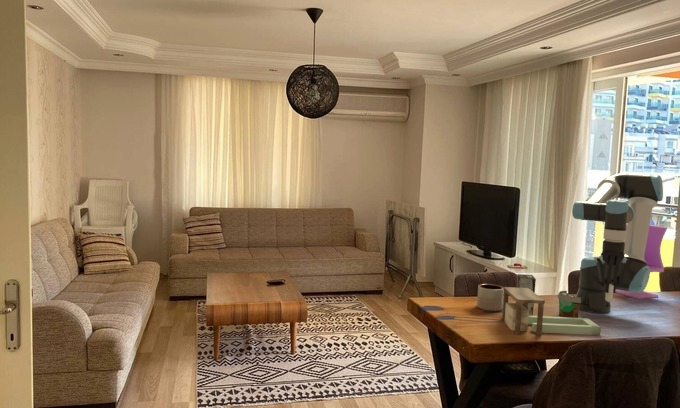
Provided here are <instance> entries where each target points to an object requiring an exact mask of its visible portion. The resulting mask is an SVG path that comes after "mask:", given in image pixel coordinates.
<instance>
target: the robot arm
mask: <svg viewBox="0 0 680 408" xmlns="http://www.w3.org/2000/svg"><path fill="white" fill-rule="evenodd" d="M663 184H664V183H663V179H662V177H661V175H659V174H651V173H631V172H630V173H627V172H622V173H621V172H620V173H615V174H613V175H610V176H608V177H606V178H604V179H602V180H601V181H600V182H599V183H598V185H597V189H596V190H594V192H592V194H591V195H589V197H588V198H587V199H585V201H582V200H581V201H578V200H577V201H575V202H574V203H573V206H572V211H571V214H572V217H573V219H575V220H581V221H589V222H600V223H601V222H602V223H604V227H603V239H604V240H603V241H602V247H601V248H602V249H601V250H602V252H601V253H600V255H599V256H588V257H584V258H582V259H581V262H580V267H579V281H578V283H579V284H578V290H577V293H576V295H575V297H579V298H581V303H580V306H579V311H584V312H589V313H597V314H607V313H611V308H612V305H611V303H613V301H614V300H613V297H614V294H615V290H623V291H629V292H636V293H641V292H643V291H645V290H646V287H647V285H648V283H649V280H650V274H651V272H650V268H649V267H648V266H647V262H646V261H645V260H644V254H645V248H646V243H647V237H648V231H649V225H651V219H652V214H653V209H654V208H655V207H657V206H658V203H659V202H661V201H663V199H664V185H663ZM616 199H618V200H616ZM619 199H625V200H619ZM626 200H627V201H626ZM626 224H627V228H626ZM623 241H624V242H623Z"/></svg>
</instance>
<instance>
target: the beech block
mask: <svg viewBox="0 0 680 408" xmlns="http://www.w3.org/2000/svg"><path fill="white" fill-rule="evenodd" d="M516 307H517V303H516V302H515V303H514V302H513V303H512V302H508V303H506V308H505V320H504V323H505V325H506V326H508V328H509V329H510V330H511V331H515V321H516ZM528 318H529V310H528V309H526V308H525V307H524V306H523V305H522V312H521V326H520V332H528V331H529V330H528V329H529V324H528Z"/></svg>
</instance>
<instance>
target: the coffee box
mask: <svg viewBox="0 0 680 408" xmlns="http://www.w3.org/2000/svg"><path fill="white" fill-rule="evenodd" d="M516 277H517V278H516V279H517V280H516V288H529V289H530V290H531V291H533V292H534V293H535V294H536V280H537V279H536V277H535V276H534V275H533V274H521V273H518V274H517V276H516ZM515 303H517V302H516V301H515ZM522 305H523V303H522ZM534 306H535V303H528V310H529V316H534Z"/></svg>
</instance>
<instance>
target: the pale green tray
mask: <svg viewBox="0 0 680 408" xmlns="http://www.w3.org/2000/svg"><path fill="white" fill-rule="evenodd" d="M528 325H531V331H532V332H533V333H536V329H537V315H533V316H529V318H528ZM601 329H602V328H601V326H599V324H597V323H595V322H593V320H591V319H590V318H588V317H578V318H572V317H559V316H548V315H546V316H545V315H543V322H542V333H550V334H551V333H552V334H553V333H554V334H568V335H588V336H589V335H591V336H593V335H594V336H601Z"/></svg>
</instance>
